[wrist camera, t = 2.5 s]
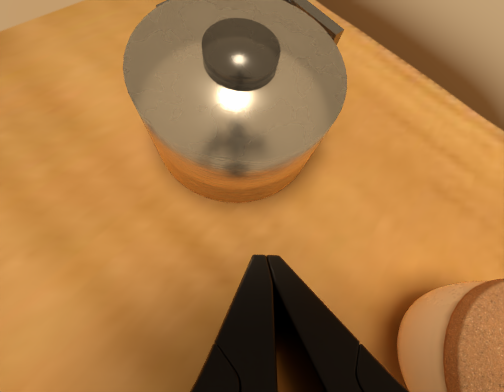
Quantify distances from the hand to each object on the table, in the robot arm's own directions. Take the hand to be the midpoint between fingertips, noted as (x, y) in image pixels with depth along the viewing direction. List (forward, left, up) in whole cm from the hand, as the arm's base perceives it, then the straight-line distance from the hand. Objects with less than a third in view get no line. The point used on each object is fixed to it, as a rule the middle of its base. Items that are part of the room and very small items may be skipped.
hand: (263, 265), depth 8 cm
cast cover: (+9, -10, -13) cm, 19 cm away
